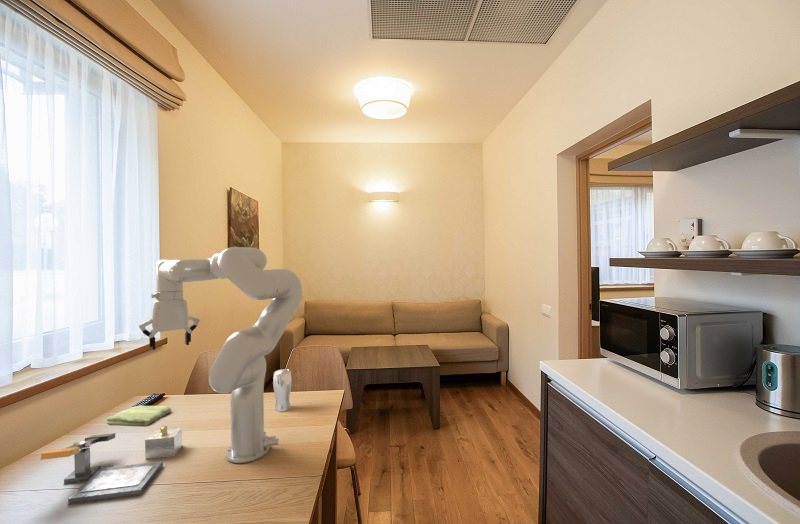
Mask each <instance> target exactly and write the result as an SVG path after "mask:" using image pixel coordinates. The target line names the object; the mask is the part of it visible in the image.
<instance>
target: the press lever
mask: <svg viewBox="0 0 800 524" xmlns="http://www.w3.org/2000/svg"><path fill="white" fill-rule="evenodd" d="M114 439H116V433H115V432H114V433H104V434H103V433H101V434H93V435H90V436H87V437H85V438H84V441H77V442H74V443H73V444H72V445H70V446H67V447H65V448H57V449H56V448H55V449H51V450H48V451H45V452H42V453H41V454H40V455H41V457H40V461H43V460H49V459H61V458H68V457H71V456H73V455H74V454H76V453H79V449H84V448H90V447H91V446H92V445H94V444H96V443H101V442H109V441H111V440H114Z"/></svg>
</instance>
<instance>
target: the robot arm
mask: <svg viewBox="0 0 800 524" xmlns="http://www.w3.org/2000/svg"><path fill="white" fill-rule="evenodd" d="M267 263H268V260H267V257H266V254H265V253H264V252H263V251H262V250H261V249H259V248H257V247H249V246H248V247H247V246H246V247H245V246H244V247H243V246H232V247H228V248H226V249H224V250H223V251H219V252H216V253H215V254H213V255H212V257H211V258H199V259H197V258H193V259H188V258H187V259H160V260H158V261H157V262H156V291H155V293H151V295H150V297H151V299H156V300H155V301H154V302H153V307H152V314H151V315H152V318H150V319H148V320H147V321H144V322H142V323H140V324H138V327H139V330H141V332H142V333H143V334H144V335H146V336H147V337H148V338H149V341H148V342H149V348H151V349H152V351H154V350H156V337H155V336H156V334H157V333H158V332H159V333H162V332H170V331H171V332H172V331H180V330H185V333H184V344H185V345H186V346H189V345H190V343H191V342H192V332H193V331H194V330H195V329H197V326H198V325H199V323H200V321H201V320H200V319H199V318H197V317H194V316H192V315H189V309H188V302H187V299H184V283H192V282H204V281H212V280H221V279H222V280H223V279H224V280H225V279H228V280H229V281H230V282H231V283H232V284H233V285H234V286H236V287H237V288H238V290H240V291H241V292H242V293H243V294H245V295H246V296H247V297H249V298H250V299H252V300H255V301H265V300H270V299H272V300H271V301H270V302H269V303H268V304H267V305H266V306H265V307H264V309H263V310H262V312H261V313H260V316H259V317H258V319H257V321H255V322H254V324H253V325H251V326H249V327H247V328H242V329H239V330H237V331H235V332H233V333H232V334H230V336H229V337H227V339H226V340H225V342H224V343H223V344H222V347H221V349H220V351H219V352H218V354H217V356H216V358H214V362H213V363H212V365H211V367H210V369H209V373H208V384H209V386H210V388H211V389H212V390H213V391H214V392H216V393H219V394H227V393H230V392H231V394H230V446H229V447H228V449H227V450H226V451H225V459H226V460H227V461H228V462H231V463H236V464H243V463H249V462H253V461H256V460H258V459H261V457H263V456H265V455H266V454H267V453H268V452H269V451H270V446H278V445H279V442H280V440H279V438H276V437H277V435H271V436H269V435H267V431H265V421H264V420H265V417H264V416H265V415H264V412H265V411H264V406H265V405H264V403H265V402H264V395H265V393H264V386H265V379H266V378H265V377H266V373H267V361H266V358H265V356H266V355H269V354H270V353H272V352H273V350H274V349H275V347H276V346H277V344H278V343H279V341H280V339H281V337H282V336H283V334H284V332H285V330H286V328H287V326H288V325H289V323H290V321H291V320H292V318H293V317H294V315H295V314H296V312H297V310H298V308H299V307H300V304H301V302H302V297H303V286H302V283H301V280H300V277H299V276H298V275H297V273H295V272H293V271H291V270H290V269H289V270H288V269H283V268H275V269H265V268H266V266H267ZM189 321H192V322H193V323H192V324H191V325H190V327H189ZM149 325H151V326H152V329H151V331H149V330H147V328H146V327H147V326H149Z"/></svg>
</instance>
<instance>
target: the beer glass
mask: <svg viewBox="0 0 800 524" xmlns="http://www.w3.org/2000/svg"><path fill="white" fill-rule="evenodd" d="M272 379H273V381H272V384H273V385H272V386H273V394H274V396H275V397H274V398H275V405H274V410H275V412H278V413H282V412H283V413H285V412H287V411H289V410H291V401H290V399H291V398H290V397H291V396H290V395H291V390H292V371H291V370H290V369H288V368H287V369H286V368H285V369H282V368H281V369H278V370H275V371H274V372H273V377H272Z"/></svg>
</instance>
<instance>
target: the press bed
mask: <svg viewBox="0 0 800 524" xmlns="http://www.w3.org/2000/svg"><path fill="white" fill-rule="evenodd" d="M73 458H74V470H73V471H72V472H70V473H69V474H68V475H67V476H65V478H64V479H63V485H65V484H71V483H72V484H73V483H81V482H84V483H83V484H82V485H80V487H79V488H77V490H76V491H74V492H73V494H71V495H70V497H68V498H67V504H68V505H76V504H83V503H84V504H85V503H86V504H87V503H93V502H99V501H109V500H115V499H116V500H117V499H122V498H131V497H137V496H138V497H139V496H141V495H142V494H143V493H144V492H145V490H146V489H147V488H148V486H149V485H150V484H151V483H152V481H154V479H155V477H157V475H158V473H159V472H160V471H161V470H160V469H163V467H164V461H162V460H161V461H156V462H155V461H154V462H147V463H144V462H143V463H136V464H127V465H119V466H109V467H101V465H97V466H91V448H90V447H88V448H81V449H79V453H76V454H74V457H73Z"/></svg>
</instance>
